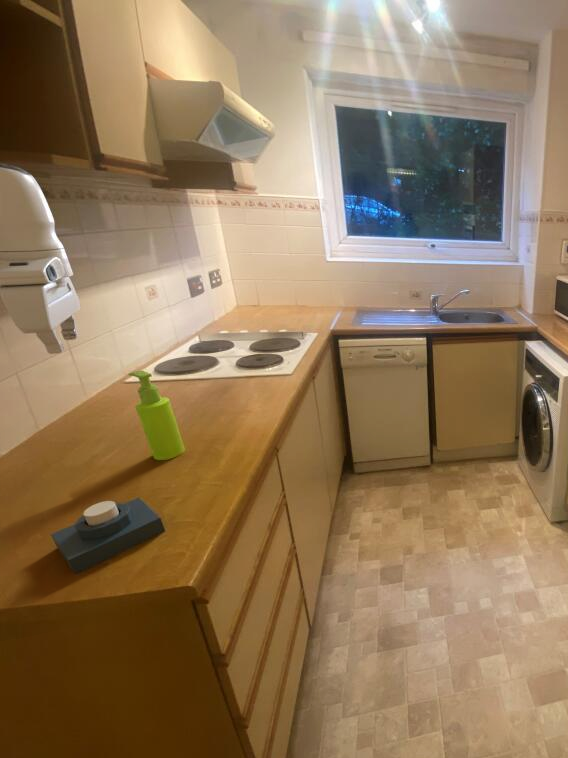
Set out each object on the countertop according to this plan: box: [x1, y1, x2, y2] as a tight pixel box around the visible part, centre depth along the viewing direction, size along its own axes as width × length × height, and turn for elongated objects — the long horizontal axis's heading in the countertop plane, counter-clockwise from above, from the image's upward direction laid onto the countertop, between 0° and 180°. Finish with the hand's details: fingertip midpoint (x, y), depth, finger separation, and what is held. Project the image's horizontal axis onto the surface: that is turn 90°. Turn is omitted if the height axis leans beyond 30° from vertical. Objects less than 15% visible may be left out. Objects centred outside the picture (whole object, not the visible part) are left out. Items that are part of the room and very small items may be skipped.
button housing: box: [50, 497, 166, 575], centre depth 74 cm, size 12×10×5 cm
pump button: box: [82, 500, 119, 526], centre depth 73 cm, size 4×4×2 cm
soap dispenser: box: [128, 370, 186, 461], centre depth 97 cm, size 6×7×20 cm
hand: (64, 345), depth 79 cm, fingers open, 8 cm apart
